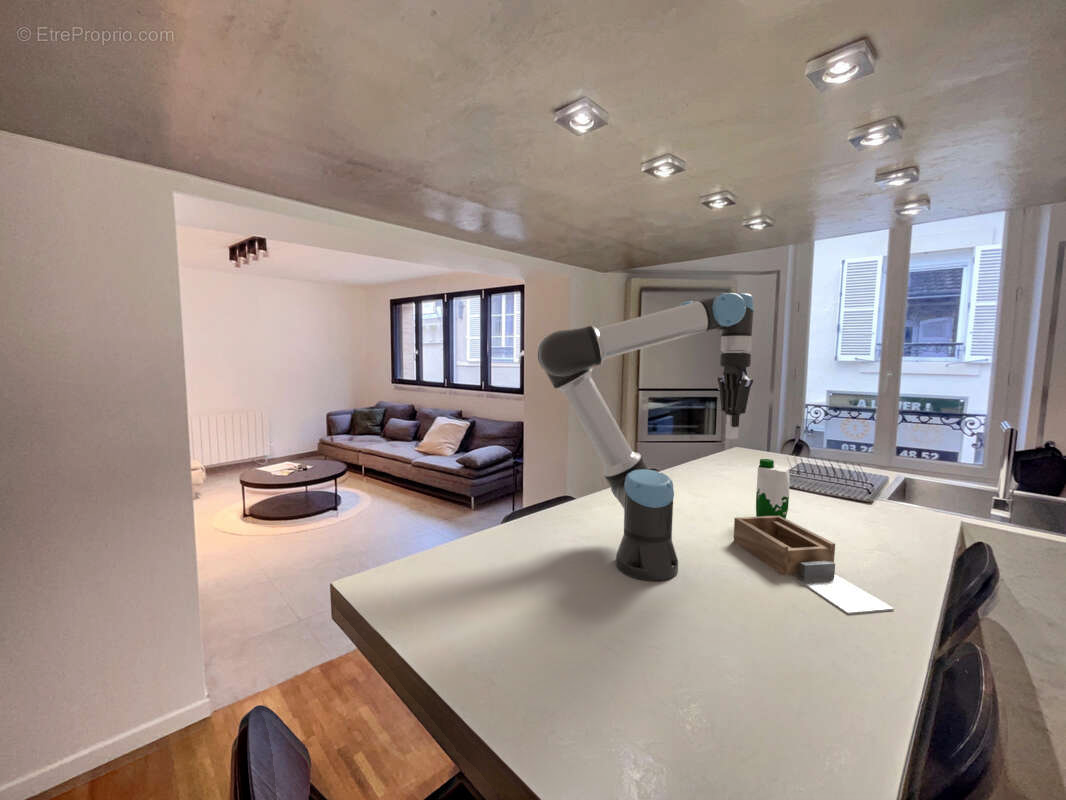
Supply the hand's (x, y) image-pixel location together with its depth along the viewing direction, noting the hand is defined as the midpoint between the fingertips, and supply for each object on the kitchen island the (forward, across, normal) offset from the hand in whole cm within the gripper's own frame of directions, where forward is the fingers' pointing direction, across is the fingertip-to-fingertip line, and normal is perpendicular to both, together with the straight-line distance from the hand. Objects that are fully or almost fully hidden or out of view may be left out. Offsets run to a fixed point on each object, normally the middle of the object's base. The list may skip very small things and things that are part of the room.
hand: (731, 438), depth 123 cm
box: (+30, -8, -10) cm, 33 cm away
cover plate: (+31, -27, -10) cm, 42 cm away
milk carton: (+31, +14, -24) cm, 41 cm away
